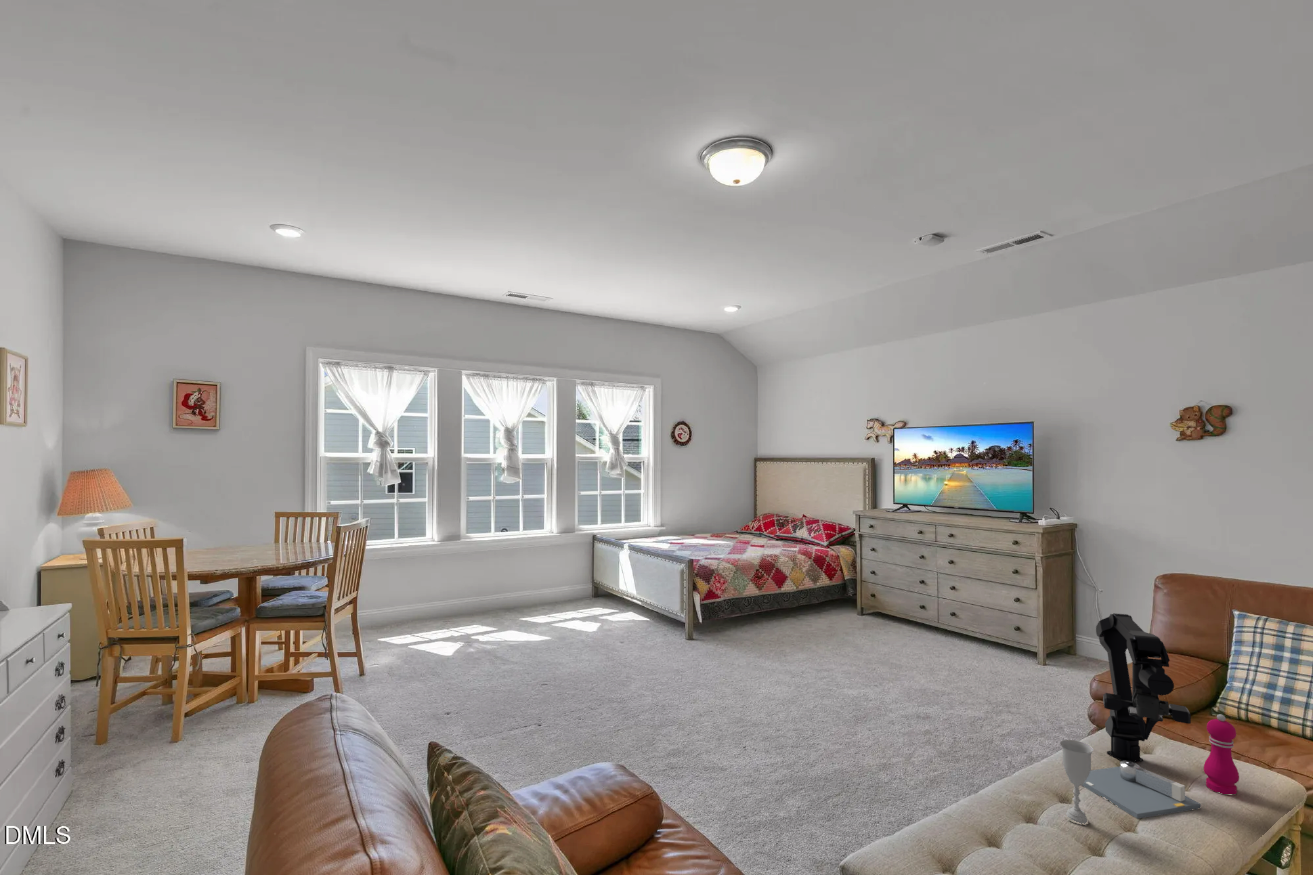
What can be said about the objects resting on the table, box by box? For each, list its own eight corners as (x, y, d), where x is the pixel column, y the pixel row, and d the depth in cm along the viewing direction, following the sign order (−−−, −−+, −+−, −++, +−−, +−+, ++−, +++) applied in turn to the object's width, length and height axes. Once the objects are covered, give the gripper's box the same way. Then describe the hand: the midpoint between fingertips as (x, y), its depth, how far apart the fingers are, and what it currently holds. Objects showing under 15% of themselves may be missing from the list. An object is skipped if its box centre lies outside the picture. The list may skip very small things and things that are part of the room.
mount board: (1068, 777, 180) (1068, 772, 180) (1127, 769, 185) (1127, 764, 185) (1137, 818, 161) (1137, 813, 161) (1200, 808, 165) (1200, 803, 165)
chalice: (1082, 830, 155) (1082, 755, 155) (1053, 816, 161) (1053, 743, 161) (1099, 822, 159) (1099, 748, 159) (1071, 808, 165) (1071, 737, 165)
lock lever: (1116, 775, 178) (1116, 760, 178) (1126, 772, 180) (1126, 757, 180) (1177, 802, 165) (1177, 786, 165) (1187, 798, 167) (1187, 782, 167)
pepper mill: (1246, 797, 170) (1246, 721, 170) (1214, 794, 172) (1214, 718, 172) (1227, 783, 177) (1227, 710, 177) (1197, 780, 179) (1197, 707, 179)
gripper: (1105, 684, 175) (1105, 742, 175) (1194, 698, 166) (1194, 760, 166) (1103, 671, 185) (1103, 726, 185) (1187, 685, 175) (1187, 743, 175)
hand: (1145, 739), depth 177 cm, fingers closed
